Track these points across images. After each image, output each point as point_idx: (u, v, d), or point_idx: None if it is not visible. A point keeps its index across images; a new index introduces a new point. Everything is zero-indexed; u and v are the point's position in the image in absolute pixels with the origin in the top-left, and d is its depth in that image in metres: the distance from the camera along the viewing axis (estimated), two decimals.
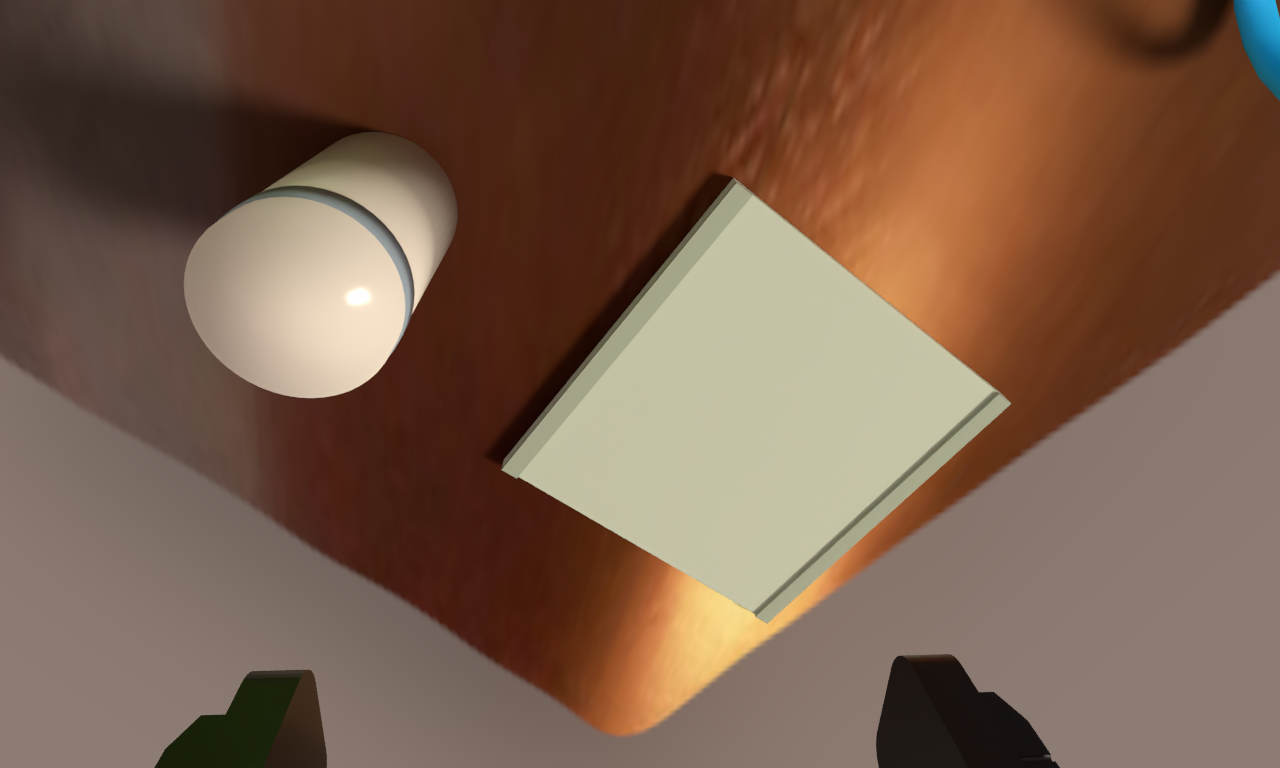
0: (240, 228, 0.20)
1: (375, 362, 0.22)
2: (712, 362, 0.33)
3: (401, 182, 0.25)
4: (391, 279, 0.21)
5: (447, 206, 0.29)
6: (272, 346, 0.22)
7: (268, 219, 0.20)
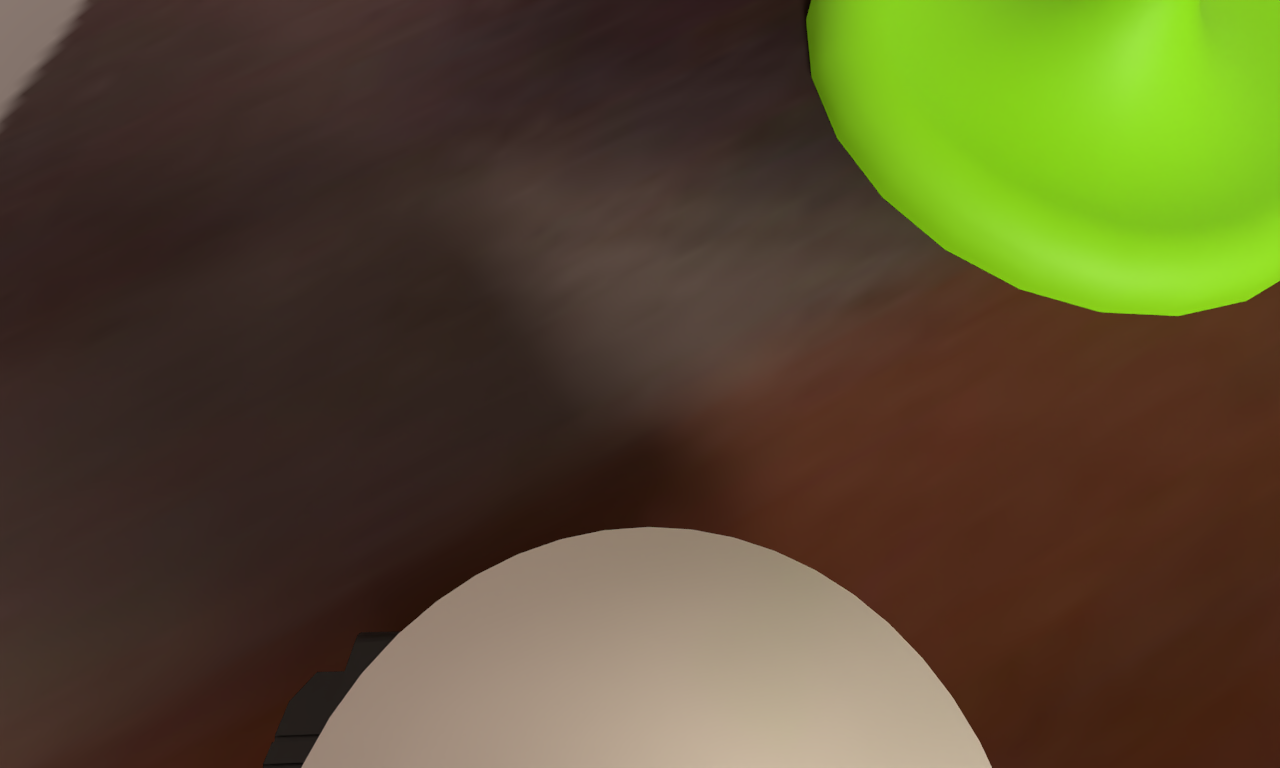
0: (799, 616, 0.06)
1: None
2: None
3: None
4: None
5: None
6: None
7: (881, 674, 0.06)
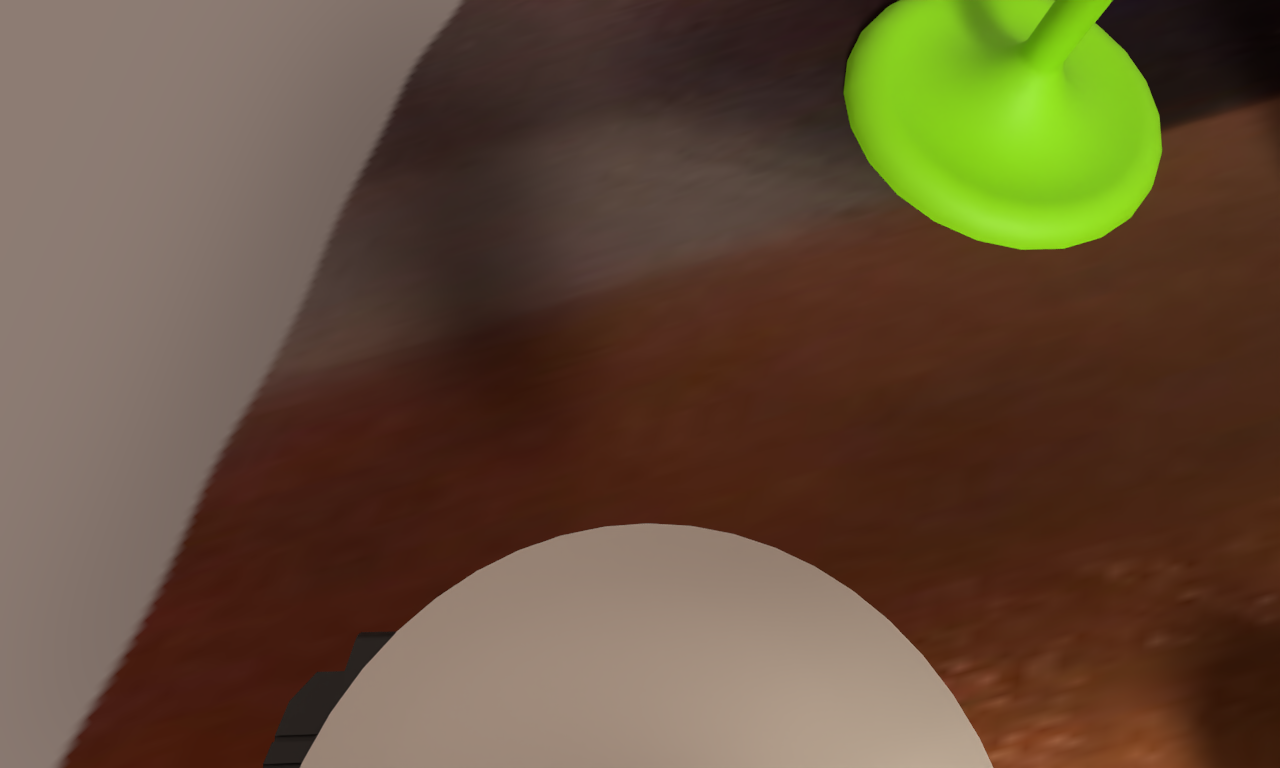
0: (799, 612, 0.06)
1: None
2: None
3: None
4: None
5: None
6: None
7: (881, 670, 0.06)
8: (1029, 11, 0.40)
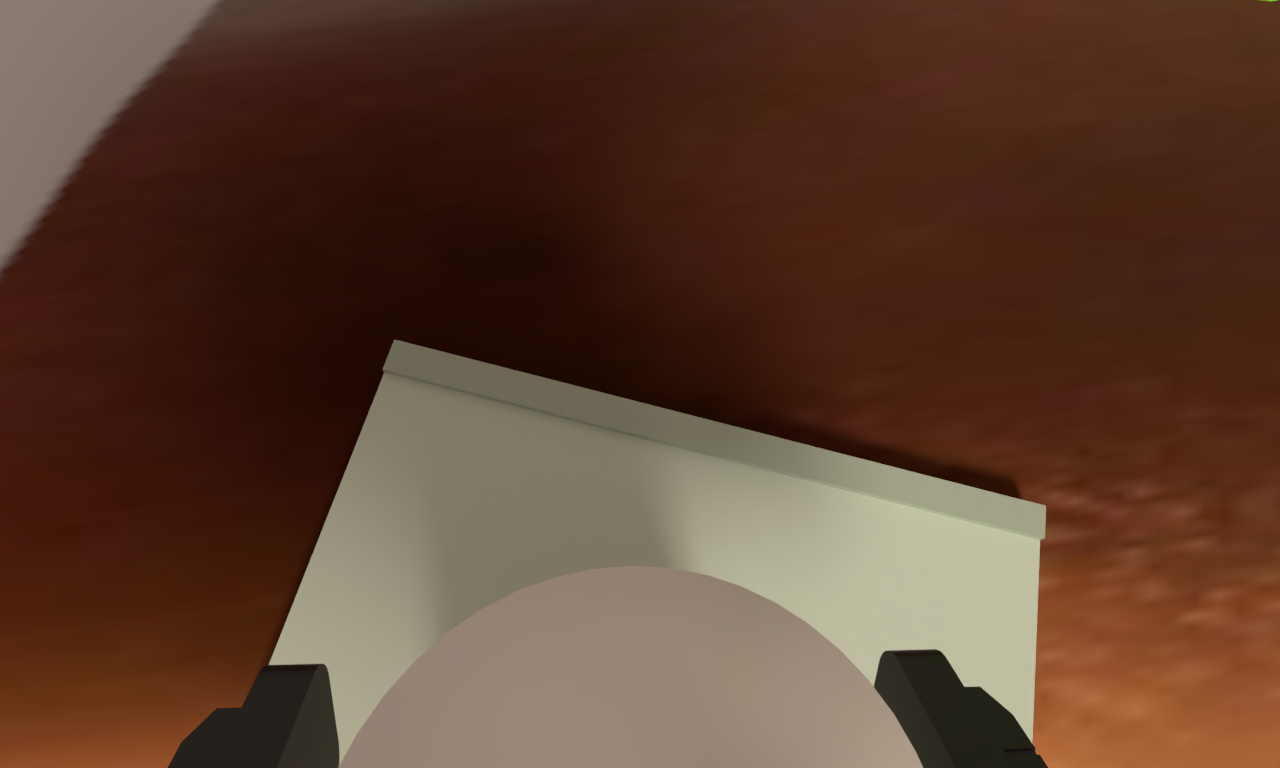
0: (762, 644, 0.07)
1: None
2: None
3: None
4: None
5: None
6: None
7: (833, 694, 0.07)
8: None
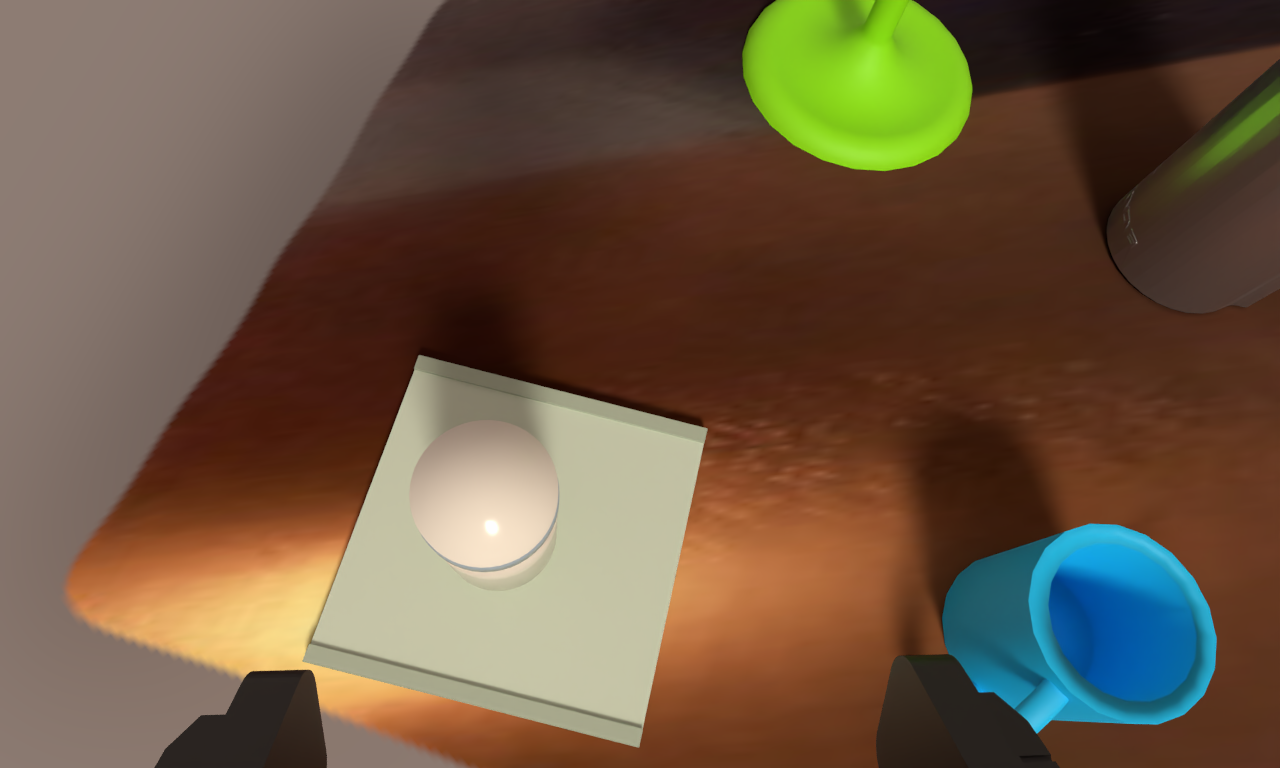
0: (520, 439, 0.31)
1: (474, 558, 0.29)
2: (572, 473, 0.41)
3: (556, 526, 0.35)
4: (540, 537, 0.30)
5: (539, 569, 0.37)
6: (447, 490, 0.30)
7: (536, 451, 0.31)
8: None
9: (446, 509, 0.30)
